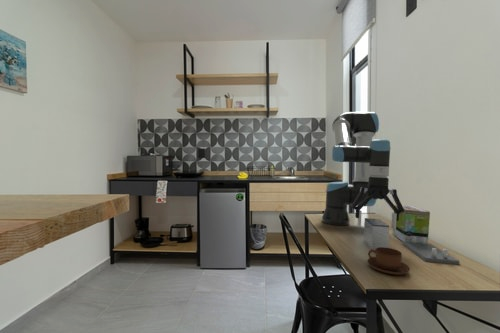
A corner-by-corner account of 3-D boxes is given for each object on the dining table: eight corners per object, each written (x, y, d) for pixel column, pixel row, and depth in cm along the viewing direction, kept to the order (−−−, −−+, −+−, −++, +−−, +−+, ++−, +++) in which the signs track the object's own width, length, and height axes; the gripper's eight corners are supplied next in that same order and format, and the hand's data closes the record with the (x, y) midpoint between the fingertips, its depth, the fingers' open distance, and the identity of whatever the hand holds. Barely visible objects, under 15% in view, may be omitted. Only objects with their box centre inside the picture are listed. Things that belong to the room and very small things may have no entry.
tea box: (429, 245, 111) (430, 211, 110) (403, 243, 113) (405, 209, 112) (414, 235, 125) (415, 205, 125) (391, 233, 127) (393, 204, 127)
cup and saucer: (369, 273, 80) (370, 254, 80) (366, 260, 91) (366, 243, 91) (413, 281, 76) (414, 260, 76) (404, 266, 87) (405, 248, 87)
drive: (363, 240, 115) (364, 218, 115) (377, 241, 114) (379, 219, 114) (371, 249, 103) (373, 224, 103) (387, 250, 102) (389, 225, 102)
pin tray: (402, 244, 111) (403, 234, 111) (430, 246, 109) (431, 236, 109) (425, 261, 92) (425, 249, 92) (459, 264, 90) (460, 252, 90)
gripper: (349, 175, 106) (346, 226, 106) (415, 178, 102) (412, 232, 102) (345, 174, 113) (343, 222, 114) (406, 177, 109) (404, 227, 109)
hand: (376, 227), depth 108 cm, fingers open, 13 cm apart
